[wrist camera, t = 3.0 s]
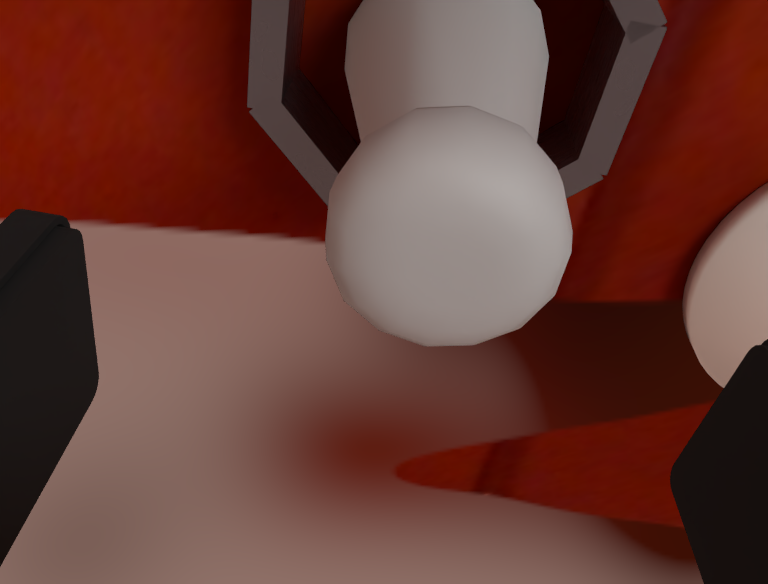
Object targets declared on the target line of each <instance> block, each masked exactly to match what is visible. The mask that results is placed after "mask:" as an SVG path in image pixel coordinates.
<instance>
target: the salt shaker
mask: <svg viewBox="0 0 768 584" xmlns="http://www.w3.org/2000/svg"><path fill="white" fill-rule="evenodd" d="M548 61H549V54H548V48H547V42H546V37H545V31H544V26H543V20H542V15H541V10H540V9H539V7H538V6H537V5H536V3H535V2H534V1H533V0H363V1H362V3H361V4H360V6H359V8H358V9H357V11H356V12H355V14H354V15H353V17H352V18H351V20H350V22H349V23H348V32H347V44H346V57H345V69H344V70H345V74H346V78H347V83H348V87H349V92H350V96H351V100H352V105H353V109H354V114H355V118H356V122H357V127H358V131H359V136H360V140H361V143H360V145H359V146H358V147H357V149H356V150H355V151H354V153H353V154H352V156H351V157H350V158H349V160H348V161H347V163H346V164H345V165H344V167H343V168H342V169H341V171H340V172H339V174H338V175H337V177H336V179H335V181H334V183H333V186H332V188H331V190H330V192H329V203H328V214H327V226H326V237H325V244H326V260H327V263H328V265H329V267H330V270H331V272H332V274H333V276H334V279H335V281H336V284H337V286H338V288H339V291H340V293H341V296H342V298H343V300H344V301H345V302H346V303H347V304H348V305H350V306H351V307H352V308H353V309H354V310H355V311H357V312H358V313H359V314H360V315H361V316H363V317H364V318H365V319H366V320H367V321H369V322H370V323H371V324H372V325H373V326H375V327H376V328H377V329H378V330H379V331H382V332H385V333H388V334H391V335H394V336H396V337H399V338H402V339H405V340H408V341H411V342H414V343H417V344H420V345H422V346H462V345H476V344H479V343H482V342H484V341H487V340H490V339H492V338H495V337H497V336H501V335H503V334H506V333H509V332H512V331H514V330H517V329H520V328H521V327H522V326H523V325H524V324H525V323H526V322H527V321H529V320H530V319H531V317H533V316H534V315H535V314H536V313H537V312H538V311H539V310H540V309H541V308H542V307H543V306H544V305H545V304H546V303H547V302H548V301H550V300H551V299H552V298H553V297H554V296H555V294H556V291H557V288H558V286H559V283H560V281H561V278H562V275H563V273H564V270H565V268H566V265H567V262H568V260H569V257H570V255H571V251H572V233H573V231H572V226H571V221H570V216H569V211H568V206H567V201H566V196H565V190H564V185H563V182H562V179H561V177H560V174H559V172H558V169H557V167H556V165H555V164H554V163H553V162H552V161H551V159H550V158H549V157H548V156H547V155H546V153H545V152H544V151H543V150H542V149H541V147H540V146H539V145H538V144H537V138H538V131H539V124H540V117H541V110H542V103H543V96H544V89H545V82H546V75H547V68H548Z"/></svg>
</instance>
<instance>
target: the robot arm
mask: <svg viewBox="0 0 768 584" xmlns="http://www.w3.org/2000/svg"><path fill="white" fill-rule="evenodd" d="M98 379H99V372H98V364H97V355H96V346H95V338H94V329H93V321H92V312H91V304H90V295H89V288H88V278H87V270H86V261H85V253H84V244H83V239H82V234H81V233H80V231H79V230H77V229H72V228H70V224H69V222H68V220H67V218H65V217H64V216H60V215H54V214H49V213H43V212H37V211H31V210H25V209H17V210H15V211H14V212H12V213H11V214H10V215H9V216H8V217H7V218H6V219H5V220H4V221H3V222H2V223H1V224H0V566H1V564H2V563H3V561H4V559H5V557H6V555H7V554H8V552H9V550H10V548H11V546H12V545H13V543H14V541H15V539H16V537H17V536H18V534H19V532H20V530H21V528H22V526H23V525H24V523H25V521H26V519H27V517H28V516H29V514H30V512H31V510H32V509H33V507H34V505H35V503H36V501H37V499H38V498H39V496H40V494H41V492H42V491H43V488H44V487H45V485H46V483H47V482H48V480H49V478H50V476H51V474H52V473H53V471H54V469H55V467H56V465H57V464H58V462H59V460H60V458H61V456H62V455H63V453H64V451H65V449H66V447H67V445H68V444H69V442H70V440H71V438H72V436H73V435H74V433H75V431H76V429H77V427H78V426H79V424H80V422H81V420H82V419H83V417H84V415H85V413H86V411H87V410H88V408H89V406H90V404H91V402H92V400H93V398H94V396H95V393H96V390H97V386H98ZM670 484H671V489H672V493H673V496H674V498H675V501H676V504H677V507H678V510H679V513H680V516H681V519H682V522H683V524H684V527H685V530H686V533H687V536H688V539H689V542H690V545H691V547H692V550H693V553H694V556H695V559H696V562H697V565H698V567H699V570H700V573H701V576H702V579H703V582H704V584H768V339H767V340H765V341H764V342H763V343H762V344H761V345H755V346H754V347H752V348H751V349H750V350H749V351H748V352H747V354H746V355H745V357H744V358H743V360H742V361H741V363H740V365H739V366H738V368H737V369H736V371H735V372H734V374H733V375H732V377H731V378H730V380H729V381H728V383H727V384H726V386H725V387H724V389H723V390H722V392H721V393H720V395H719V396H718V398H717V399H716V401H715V402H714V404H713V405H712V407H711V408H710V410H709V412H708V413H707V415H706V416H705V418H704V419H703V421H702V422H701V424H700V425H699V427H698V428H697V430H696V431H695V433H694V434H693V436H692V437H691V439H690V440H689V442H688V443H687V445H686V446H685V448H684V449H683V451H682V452H681V454H680V456H679V457H678V459H677V460H676V462H675V463H674V465H673V467H672V470H671V476H670Z"/></svg>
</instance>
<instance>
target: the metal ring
mask: <svg viewBox="0 0 768 584" xmlns="http://www.w3.org/2000/svg"><path fill="white" fill-rule="evenodd" d="M603 2H604V4H605V5H604V8H603V11H602V14H601V17H600V19H599V22H598V25H597V28H596V31H595V34H594V37H593V40H592V42H591V45H590V48H589V51H588V54H587V57H586V60H585V63H584V65H583V68H582V71H581V74H580V77H579V80H578V83H577V85H576V88H575V91H574V94H573V97H572V100H571V103H570V106H569V108H568V111H567V114H566V117H565V120H563V121H562V122H560V123H558V124H556V125H555V126H553V127H551V128H549V129H548V130H546V131H544V132H542V133H541V134H539V135H538V138H537V144H538V145H539V146H540V147H541V149H542V150H543V151H544V152H545V153H546V155H547V156H548V157H549V158H550V159H551V161H552V162H553V163H554V164H555V165H556V167H557V169H558V172H559V174H560V177H561V179H562V182H563V185H564V190H565V196H566V198H568V197H570V196H572V195H574V194H575V193H577V192H579V191H581V190H583V189H585V188H587V187H589V186H591V185H593V184H595V183H596V182H598V181H600V180H602V179H603V177H602V175H607V173H608V171H609V168H610V166H611V164H612V161H613V159H614V156H615V154H616V151H617V149H618V147H619V144H620V142H621V139H622V137H623V134H624V132H625V129H626V127H627V125H628V122H629V120H630V117H631V115H632V112H633V110H634V107H635V105H636V103H637V100H638V98H639V95H640V93H641V90H642V88H643V86H644V83H645V81H646V78H647V76H648V73H649V71H650V68H651V66H652V64H653V61H654V59H655V56H656V54H657V51H658V49H659V47H660V44H661V42H662V39H663V37H664V34H665V32H666V29H667V27H666V26H665V25H664V24H665V23H667V20H666V18H665V16H664V14H663V12H662V9H661V7H660V5H659V3H658V1H657V0H603ZM304 10H305V0H252V12H251V34H250V56H249V77H248V99H247V107H249V108H251V109H250V111H249V113H250V114H251V115H252V116H253V117H254V119H255V120H256V121H257V122H258V123H259V125H260V126H261V127H262V128H263V129H264V131H265V132H266V133H267V134H268V135H269V137H270V138H271V139H272V140H273V141H274V142H275V144H276V145H277V146H278V147H279V148H280V150H281V151H282V152H283V153H284V154H285V156H286V157H287V158H288V159H289V160H290V162H291V163H292V164H293V165H294V166H295V168H296V169H297V170H298V171H299V172H300V174H301V175H302V176H303V177H304V178H305V179H306V181H307V182H308V183H309V184H310V185H311V187H312V188H313V189H314V190H315V191H316V193H317V194H318V195H319V196H320V197H321V199H322V200H323V201H324V202H325V203H326V205H327V206H328V203H329V192H330V190H331V188H332V186H333V183H334V181H335V179H336V177H337V175H338V174H339V172H340V171H341V169H342V168H343V167H344V165H345V164H346V163H347V161H348V160H349V158H350V157H351V156H352V154H353V153H354V151H355V150H356V149H357V147H358V145H357V143H356V142H355V141H354V140H353V138H352V137H351V136H350V134H349V133H348V132H347V130H346V129H345V128H344V127H343V125H342V124H341V123H340V121H339V120H338V119H337V117H336V116H335V115H334V113H333V112H332V111H331V110H330V108H329V107H328V106H327V104H326V103H325V102H324V100H323V99H322V98H321V97H320V95H319V94H318V93H317V91H316V90H315V89H314V87H313V86H312V85H311V84H310V82H309V81H308V80H307V78H306V77H305V76H304V74H303V73H302V72H301V70H300V69H299V65H300V54H301V43H302V32H303V21H304Z"/></svg>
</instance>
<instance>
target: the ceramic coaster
mask: <svg viewBox="0 0 768 584" xmlns="http://www.w3.org/2000/svg"><path fill="white" fill-rule="evenodd" d="M682 307H683V321H684V325H685V329H686V333H687V335H688V338H689V340H690V342H691V344H692V347H693V349H694V351H695V353H696V356H697V358H698V360H699V362H700V364H701V365H702V366H703V368H704V369H705V371H706V372H707V373H708V375H710V376H711V377H712V379H713V380H714V381H716V382H717V383H718V384H719V385H720V386H722V387H723V388H724V387H725V386H726V384H727V383H728V381H729V380H730V378H731V377H732V375H733V374H734V372H735V371H736V369H737V368H738V366H739V365H740V363H741V361H742V360H743V358H744V357H745V355H746V354H747V352H748V351H749V350H750V349H751V348H752V347H754V346H755V345H761V344H762V343H763V342H764V341H765V340H767V339H768V182H767V183H766V184H764V185H763V186H761V187H760V188H758V189H757V190H756V191H754V192H753V193H752V194H751V195H749V196H748V197H747V198H746V199H744V200H743V201H742V202H741V203H739V204H738V205H737V206H736V207H735V208H734V209H733V210H732V211H731V212H730V213H729V214H728V215H727V216H726V217H725V218H724V219H723V220H722V221H721V222H720V223H719V225H718V226H717V227H716V228H715V230H714V231H713V232H712V233H711V235H710V236H709V237H708V238H707V240H706V241H705V243H704V245H703V246H702V248H701V249H700V251H699V253H698V254H697V256H696V258H695V260H694V262H693V265H692V267H691V269H690V271H689V274H688V277H687V281H686V284H685V288H684V295H683V303H682Z"/></svg>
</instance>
